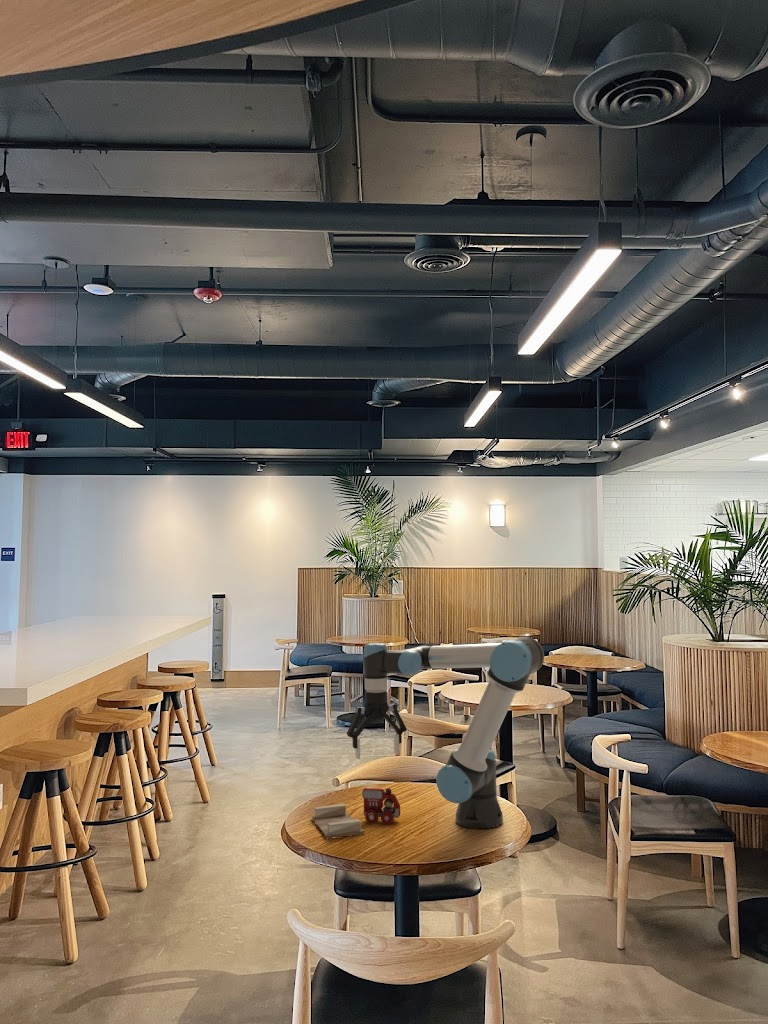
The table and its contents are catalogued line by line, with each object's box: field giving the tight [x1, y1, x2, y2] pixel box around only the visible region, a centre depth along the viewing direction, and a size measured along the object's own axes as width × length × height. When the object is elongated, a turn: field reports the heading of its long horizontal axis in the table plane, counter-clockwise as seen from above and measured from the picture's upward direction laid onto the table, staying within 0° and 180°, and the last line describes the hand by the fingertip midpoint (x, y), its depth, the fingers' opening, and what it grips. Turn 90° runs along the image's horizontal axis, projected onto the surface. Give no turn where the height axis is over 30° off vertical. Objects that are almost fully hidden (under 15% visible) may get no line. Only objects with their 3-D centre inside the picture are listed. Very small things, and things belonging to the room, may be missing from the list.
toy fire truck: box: [361, 787, 401, 825], centre depth 250 cm, size 7×12×10 cm, turn 80°
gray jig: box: [311, 803, 365, 839], centre depth 245 cm, size 20×12×4 cm, turn 19°
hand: (377, 756), depth 252 cm, fingers open, 13 cm apart
